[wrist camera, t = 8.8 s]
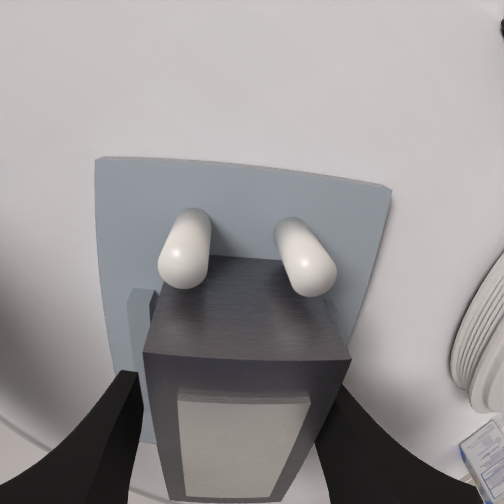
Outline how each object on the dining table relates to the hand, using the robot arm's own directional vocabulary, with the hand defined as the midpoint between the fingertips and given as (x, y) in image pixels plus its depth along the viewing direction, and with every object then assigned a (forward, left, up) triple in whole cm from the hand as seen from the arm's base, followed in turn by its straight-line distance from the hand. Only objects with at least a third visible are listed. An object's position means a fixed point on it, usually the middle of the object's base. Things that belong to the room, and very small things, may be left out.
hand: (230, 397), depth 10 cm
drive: (0, 0, -2) cm, 2 cm away
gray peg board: (0, 0, -3) cm, 3 cm away
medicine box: (+28, -16, -3) cm, 32 cm away
